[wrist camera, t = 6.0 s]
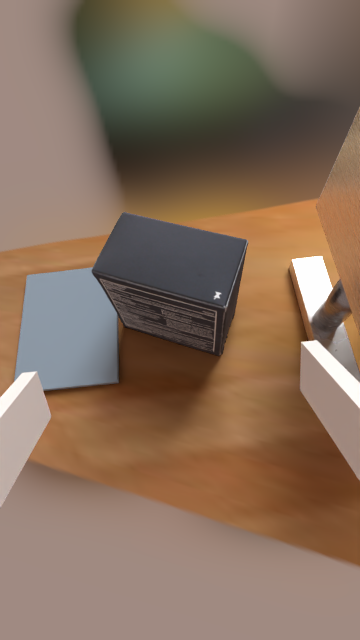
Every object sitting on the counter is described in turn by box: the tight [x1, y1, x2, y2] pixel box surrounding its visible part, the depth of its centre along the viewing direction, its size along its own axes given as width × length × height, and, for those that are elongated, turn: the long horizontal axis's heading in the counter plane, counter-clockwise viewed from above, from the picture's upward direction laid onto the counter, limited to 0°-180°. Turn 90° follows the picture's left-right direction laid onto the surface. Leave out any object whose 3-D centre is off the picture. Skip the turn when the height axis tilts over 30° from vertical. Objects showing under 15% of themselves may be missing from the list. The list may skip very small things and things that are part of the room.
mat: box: [14, 268, 119, 391], centre depth 33 cm, size 10×13×1 cm
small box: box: [91, 212, 248, 356], centre depth 28 cm, size 11×6×10 cm, turn 71°
